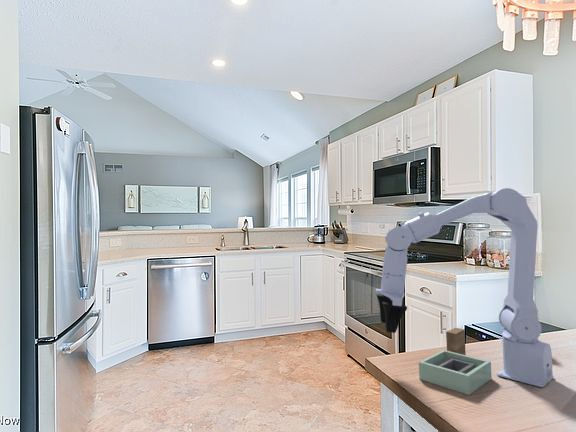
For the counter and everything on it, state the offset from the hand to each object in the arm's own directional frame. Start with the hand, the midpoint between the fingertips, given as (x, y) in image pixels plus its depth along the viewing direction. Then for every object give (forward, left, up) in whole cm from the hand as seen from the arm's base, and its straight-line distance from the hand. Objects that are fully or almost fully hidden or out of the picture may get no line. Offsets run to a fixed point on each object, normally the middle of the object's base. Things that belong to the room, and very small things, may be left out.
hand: (388, 327), depth 97 cm
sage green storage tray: (-14, -6, -11) cm, 19 cm away
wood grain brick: (-9, -17, -11) cm, 22 cm away
